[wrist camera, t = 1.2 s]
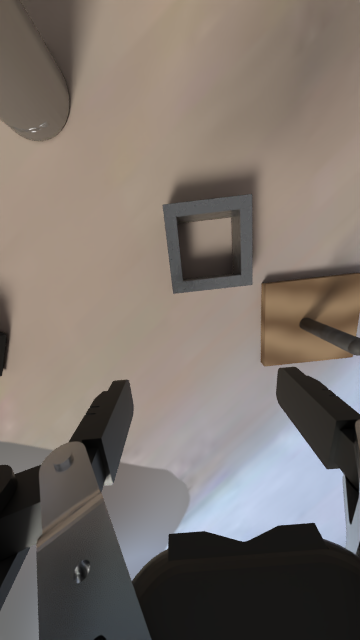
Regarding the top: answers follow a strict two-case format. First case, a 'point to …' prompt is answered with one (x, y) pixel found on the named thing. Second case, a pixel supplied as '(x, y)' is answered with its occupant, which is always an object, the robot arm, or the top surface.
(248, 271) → the link
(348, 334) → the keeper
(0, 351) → the toy
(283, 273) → the top surface
